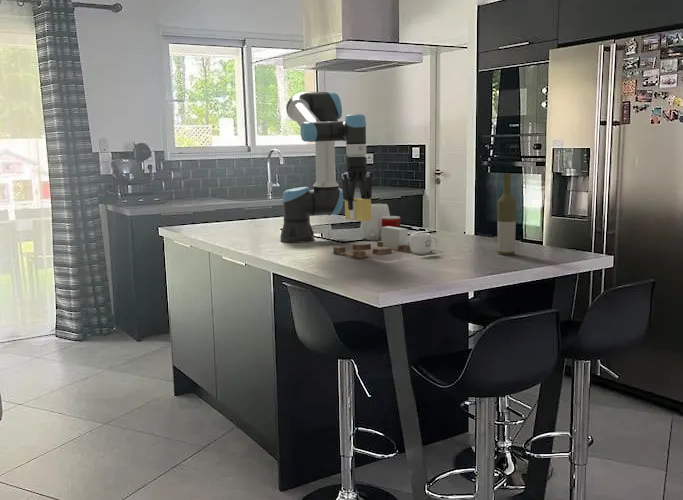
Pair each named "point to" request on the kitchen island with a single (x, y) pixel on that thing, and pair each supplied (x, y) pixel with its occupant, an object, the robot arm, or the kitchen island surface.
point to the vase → (374, 222)
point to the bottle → (506, 219)
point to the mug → (421, 243)
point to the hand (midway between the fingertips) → (358, 217)
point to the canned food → (391, 221)
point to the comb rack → (367, 250)
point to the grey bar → (394, 237)
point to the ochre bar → (360, 209)
